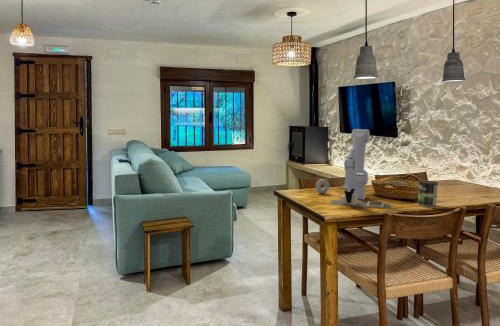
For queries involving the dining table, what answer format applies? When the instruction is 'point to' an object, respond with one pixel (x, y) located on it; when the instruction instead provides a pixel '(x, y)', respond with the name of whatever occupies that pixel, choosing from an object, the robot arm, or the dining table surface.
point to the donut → (318, 186)
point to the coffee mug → (397, 183)
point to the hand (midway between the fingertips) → (349, 201)
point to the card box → (353, 200)
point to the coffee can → (427, 193)
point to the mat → (360, 204)
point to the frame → (374, 205)
